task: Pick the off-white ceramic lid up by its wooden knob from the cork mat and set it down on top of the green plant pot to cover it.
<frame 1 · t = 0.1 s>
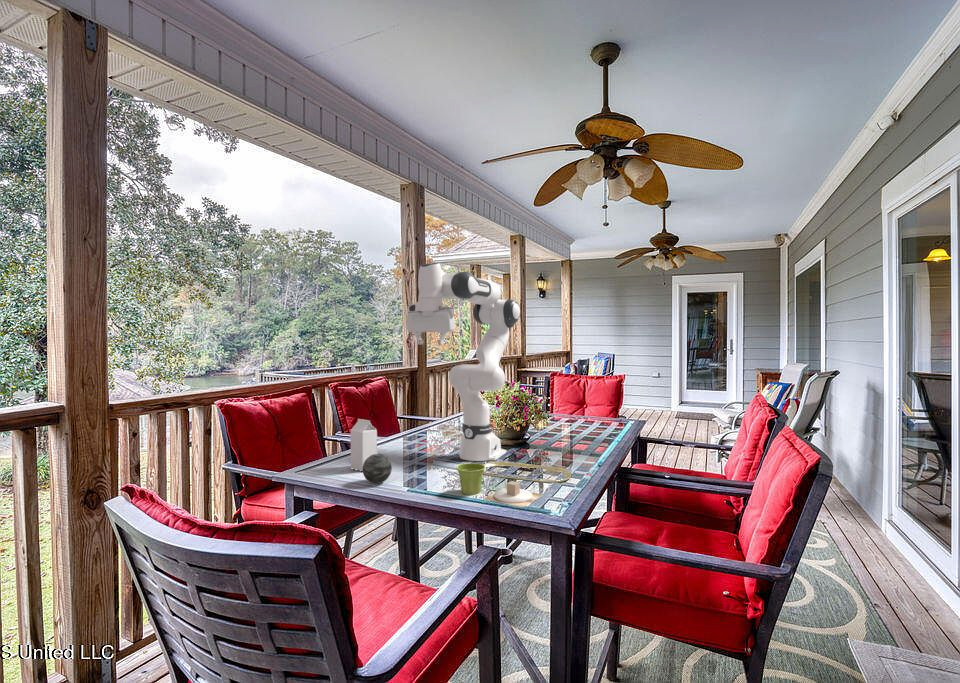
hand: (430, 344, 178), 48 cm above the table, tool pointing down, fingers open, 8 cm apart
plant pot: (471, 494, 158), on the table
mat: (513, 498, 153), on the table
lid: (513, 496, 153), point 1 cm above the table, touching mat
oval gold ring: (523, 475, 180), on the table
milk carton: (363, 469, 187), on the table
decorative stone: (377, 483, 170), on the table
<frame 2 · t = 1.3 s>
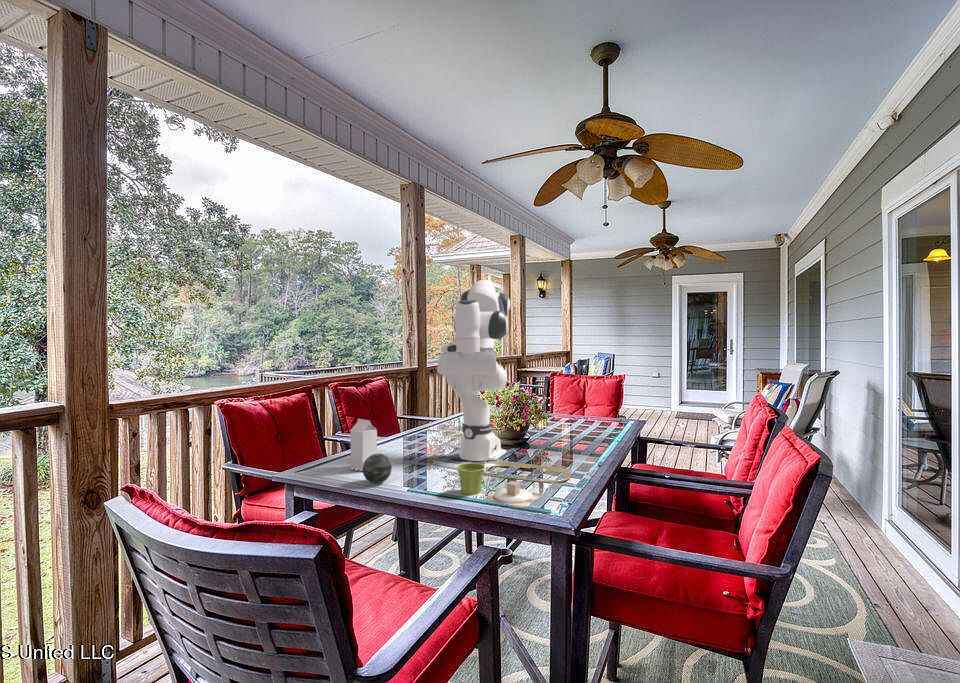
hand: (467, 388, 165), 33 cm above the table, tool pointing down, fingers open, 8 cm apart
nothing on the table moved.
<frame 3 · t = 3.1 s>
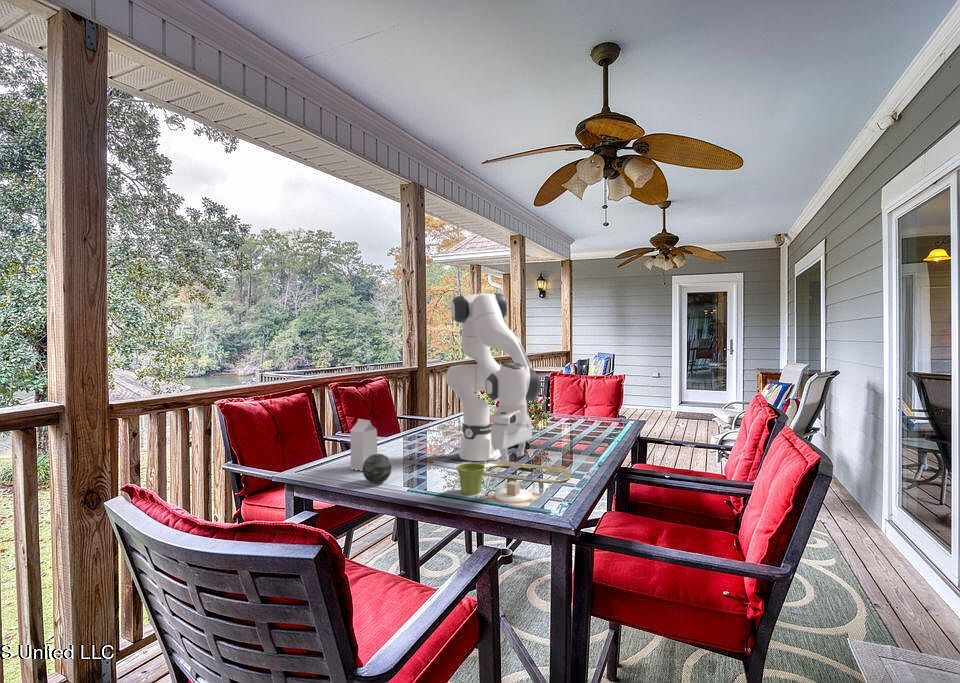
hand: (513, 458, 152), 13 cm above the table, tool pointing down, fingers open, 8 cm apart
nothing on the table moved.
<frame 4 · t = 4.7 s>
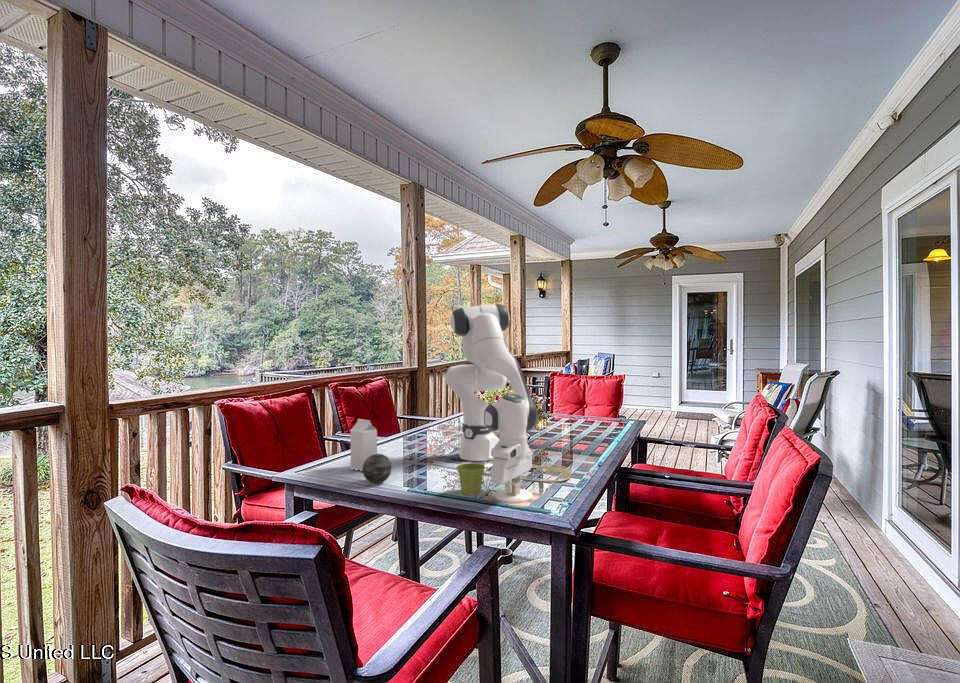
hand: (513, 490, 153), 2 cm above the table, tool pointing down, fingers closed on lid, 3 cm apart
lid: (513, 496, 153), point 1 cm above the table, touching gripper, mat
everything else where it was.
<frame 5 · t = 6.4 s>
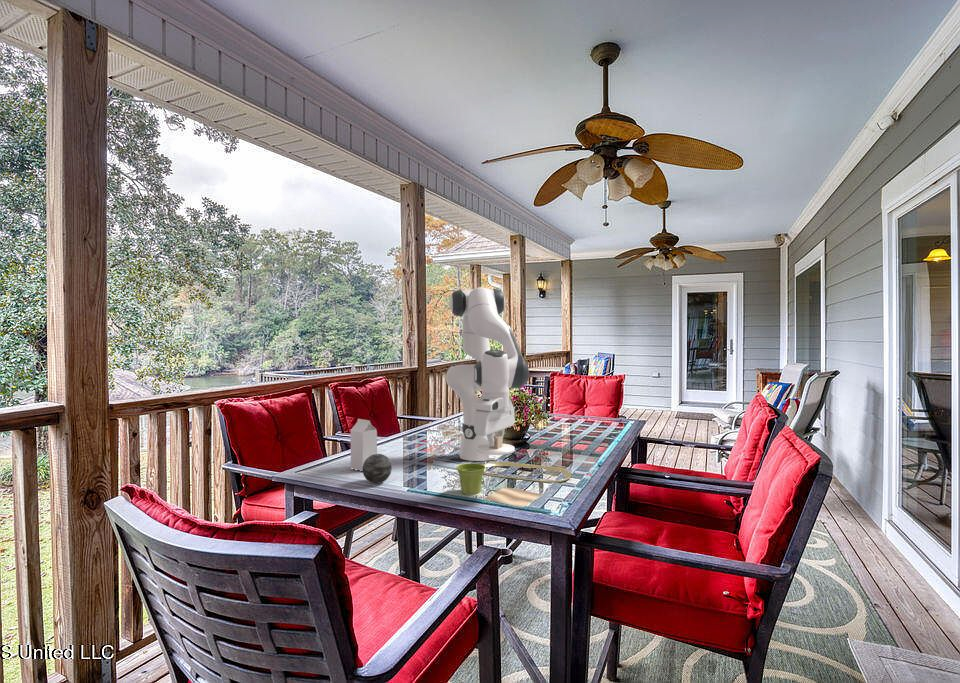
hand: (495, 444, 155), 16 cm above the table, tool pointing down, fingers closed on lid, 3 cm apart
lid: (495, 450, 155), point 15 cm above the table, touching gripper
everything else where it was.
when the fingers open (12 cm above the table, at t = 8.0 s): lid drops 2 cm, resting on plant pot.
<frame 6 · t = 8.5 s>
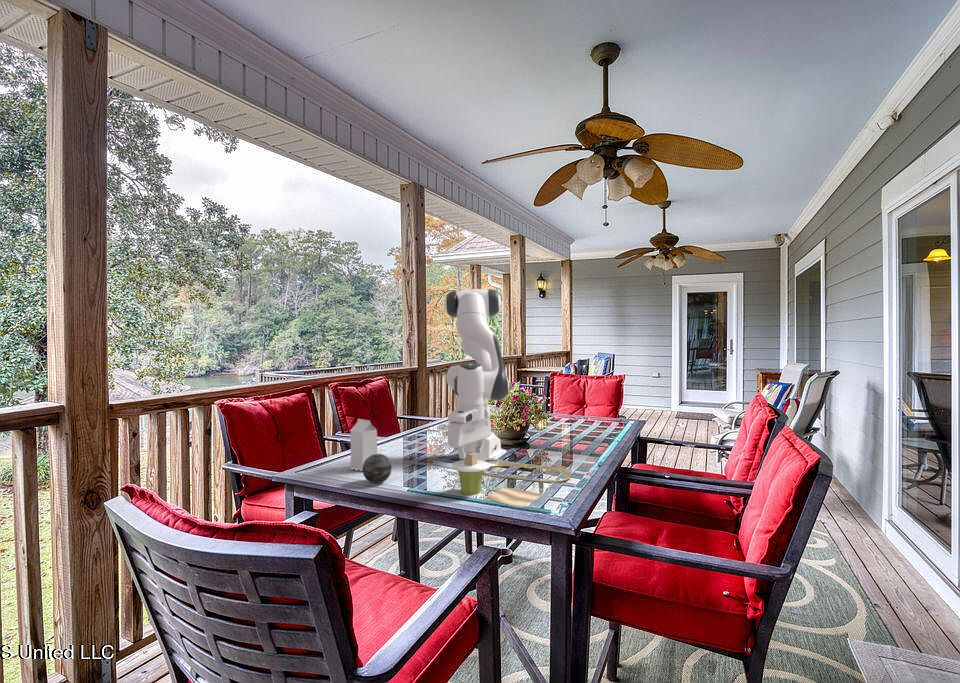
hand: (470, 455, 158), 12 cm above the table, tool pointing down, fingers open, 8 cm apart
plant pot: (470, 494, 158), on the table, touching lid
lid: (470, 466, 158), point 9 cm above the table, touching plant pot
everything else where it was.
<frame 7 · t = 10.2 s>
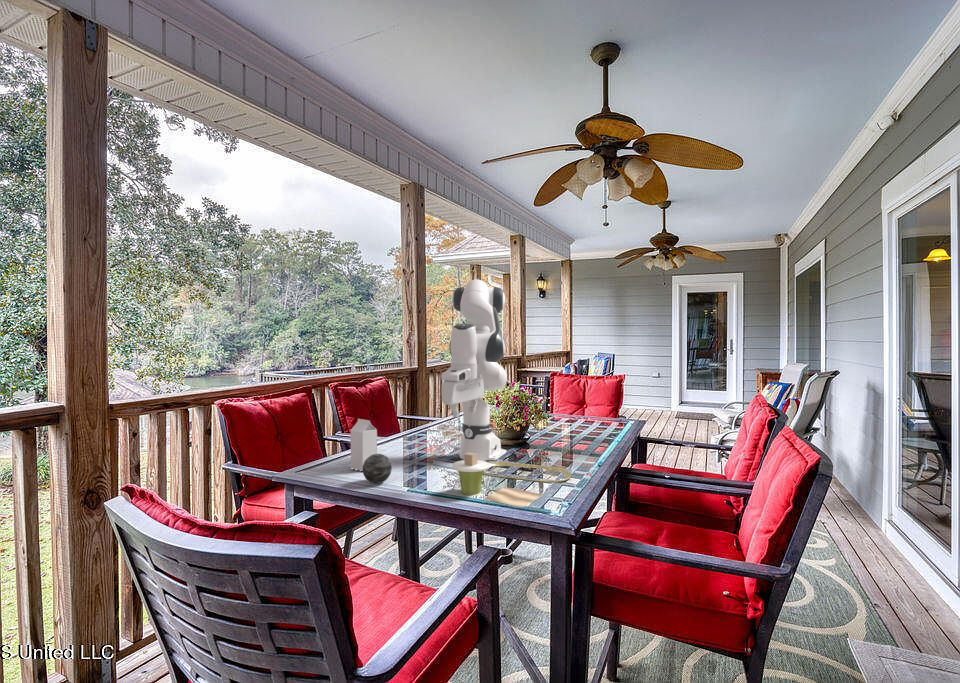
hand: (464, 414, 161), 25 cm above the table, tool pointing down, fingers open, 8 cm apart
nothing on the table moved.
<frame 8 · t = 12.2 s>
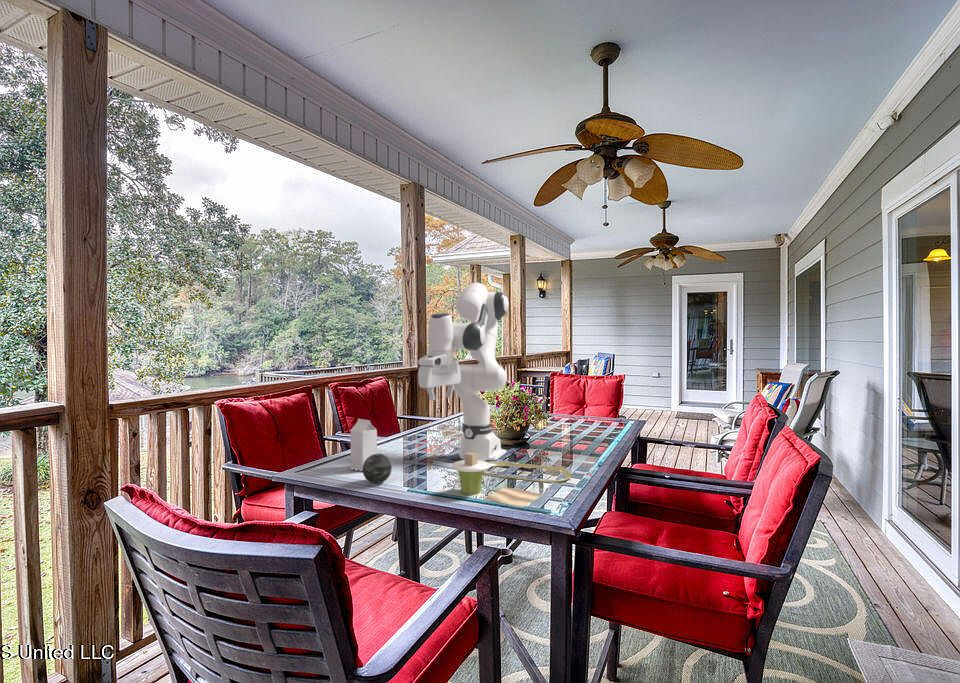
hand: (440, 398, 170), 29 cm above the table, tool pointing down, fingers open, 8 cm apart
nothing on the table moved.
at the end: lid 0.1 cm off-centre on the plant pot, point 8.9 cm above the plant pot's base; lid tilted 0°; the gripper is holding nothing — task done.
